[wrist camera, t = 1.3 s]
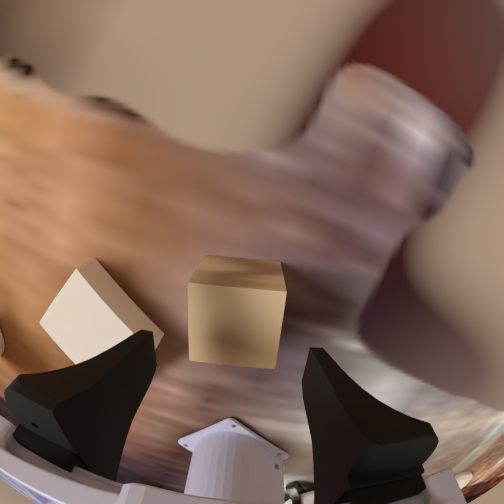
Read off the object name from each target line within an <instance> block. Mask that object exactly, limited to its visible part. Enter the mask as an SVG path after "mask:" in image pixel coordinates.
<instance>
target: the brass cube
mask: <svg viewBox="0 0 504 504" xmlns="http://www.w3.org/2000/svg"><path fill="white" fill-rule="evenodd" d="M286 294H287V290H286V285H285V281H284V276H283V271H282V266H281V262H278V261H267V260H256V259H244V258H233V257H222V256H211V255H205V257H204V258H203V260H202V261H201V263H200V264H199V266H198V267H197V269H196V271H195V272H194V274H193V275H192V277H191V278H190V280H189V281H188V335H189V360H192V361H199V362H206V363H214V364H223V365H232V366H243V367H254V368H269V369H275V364H276V359H277V353H278V346H279V340H280V334H281V328H282V321H283V315H284V308H285V301H286Z"/></svg>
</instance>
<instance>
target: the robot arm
mask: <svg viewBox="0 0 504 504" xmlns="http://www.w3.org/2000/svg"><path fill="white" fill-rule="evenodd" d="M156 366H157V363H156V354H155V346H154V336H153V331H147V330H142V329H141V330H139V331H137V332H136V333H134V334H132V335H131V336H129V337H128V338H126V339H125V340H123V341H121V342H120V343H118V344H116V345H115V346H113V347H111V348H110V349H108V350H106V351H104V352H102V353H100V354H98V355H97V356H95V357H93V358H90V359H88V360H86V361H83V362H81V363H78V364H75V365H72V366H69V367H66V368H62V369H59V370H54V371H49V372H43V373H36V374H20V375H19V376H18V377H17V378H16V379H15V380H14V381H13V382H12V383H11V384H10V385H9V386H8V387H7V388H6V389H5V392H4V395H5V399H6V401H7V404H8V405H9V407H10V409H11V411H12V412H13V414H14V416H15V417H16V419H17V420H18V422H19V424H20V425H19V426H18V427H17V428H16V427H15V426H14V425H13V424H12V423H10V422H9V421H8V420H6V419H5V418H3V417H2V416H0V478H2V479H3V480H4V481H5V482H7V483H8V484H9V485H10V486H12V487H13V488H14V489H16V490H17V491H19V492H20V493H21V494H23V495H24V496H26V497H27V498H28V499H30V500H31V501H33V502H34V503H36V504H284V480H283V460H286V459H288V458H289V454H288V453H286V452H284V451H283V450H281V449H279V448H278V447H276V446H274V445H273V444H271V443H270V442H268V441H266V440H265V439H263V438H262V437H260V436H259V435H257V434H256V433H254V432H253V431H251V430H250V429H248V428H247V427H245V426H244V425H242V424H241V423H240V422H238V421H237V420H235V419H234V418H227V419H225V420H223V421H221V422H218V423H216V424H214V425H212V426H209V427H207V428H205V429H202V430H200V431H198V432H195V433H193V434H190V435H188V436H185V437H183V438H180V439H179V440H178V443H179V444H180V445H182V446H183V447H185V448H186V449H188V450H190V451H191V452H193V454H192V459H191V463H190V468H189V472H188V477H187V481H186V486H185V491H184V493H179V492H174V491H169V490H165V489H160V488H156V487H152V486H149V485H143V484H138V483H130V484H124V485H123V484H120V483H117V482H116V479H117V473H118V468H119V464H120V460H121V456H122V452H123V448H124V445H125V441H126V438H127V435H128V432H129V429H130V426H131V423H132V420H133V418H134V416H135V414H136V412H137V410H138V408H139V406H140V404H141V402H142V400H143V398H144V396H145V394H146V392H147V390H148V388H149V386H150V384H151V381H152V378H153V376H154V373H155V369H156ZM302 390H303V400H304V405H305V410H306V415H307V419H308V424H309V429H310V434H311V439H312V448H313V464H314V504H467V503H466V500H465V498H464V496H463V494H462V491H461V489H460V487H459V485H458V483H457V480H456V478H455V476H454V474H453V472H452V470H451V469H446V470H444V471H441V472H439V473H436V474H433V475H431V476H428V477H427V478H425V479H424V480H423V477H422V475H421V474H423V473H424V468H423V466H422V464H423V463H424V462H425V461H426V460H427V459H428V457H429V456H430V455H431V454H432V453H433V451H434V450H435V449H436V447H437V444H438V437H437V436H436V434H435V432H434V430H433V428H432V426H431V425H430V423H427V422H424V421H421V420H418V419H415V418H412V417H410V416H407V415H405V414H403V413H401V412H398V411H396V410H394V409H393V408H391V407H389V406H387V405H386V404H384V403H382V402H380V401H379V400H377V399H376V398H374V397H373V396H372V395H370V394H369V393H368V392H366V391H365V390H364V389H362V388H361V387H360V386H359V385H358V384H357V383H356V382H354V381H353V380H352V379H351V378H350V377H349V376H348V375H347V374H346V373H345V372H344V371H343V370H342V369H341V368H340V367H339V366H338V364H337V363H336V362H335V361H334V360H333V359H332V358H331V357H330V355H329V354H328V353H327V352H326V351H325V350H324V349H323V348H310V350H309V354H308V358H307V362H306V366H305V370H304V374H303V378H302Z"/></svg>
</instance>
